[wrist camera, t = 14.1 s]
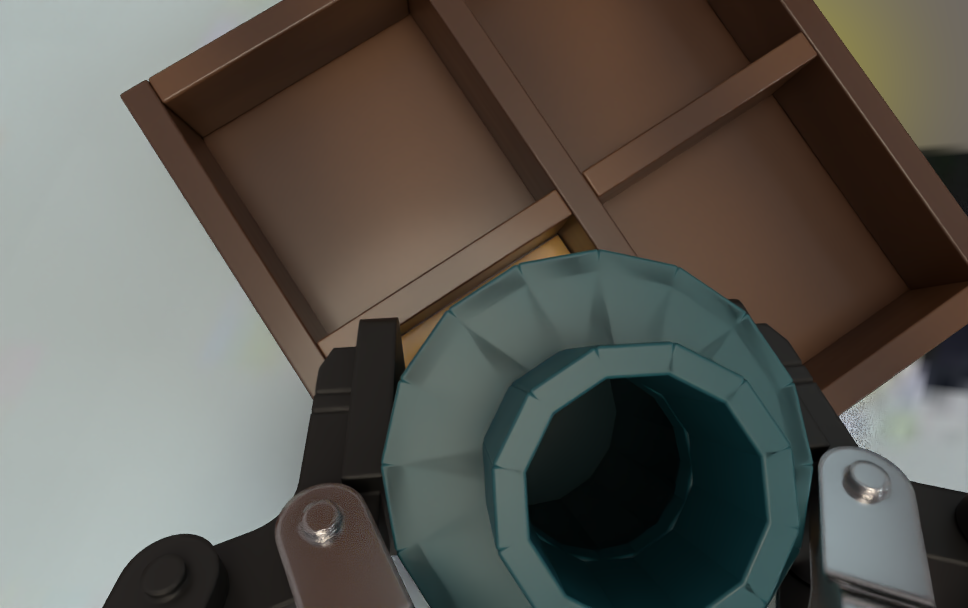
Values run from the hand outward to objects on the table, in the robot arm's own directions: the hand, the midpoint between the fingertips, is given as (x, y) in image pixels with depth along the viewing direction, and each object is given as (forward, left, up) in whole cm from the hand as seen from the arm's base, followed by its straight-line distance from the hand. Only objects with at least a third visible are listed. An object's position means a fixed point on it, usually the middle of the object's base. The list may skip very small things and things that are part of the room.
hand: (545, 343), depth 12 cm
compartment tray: (-3, -3, -6) cm, 8 cm away
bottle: (+1, +2, -5) cm, 6 cm away
